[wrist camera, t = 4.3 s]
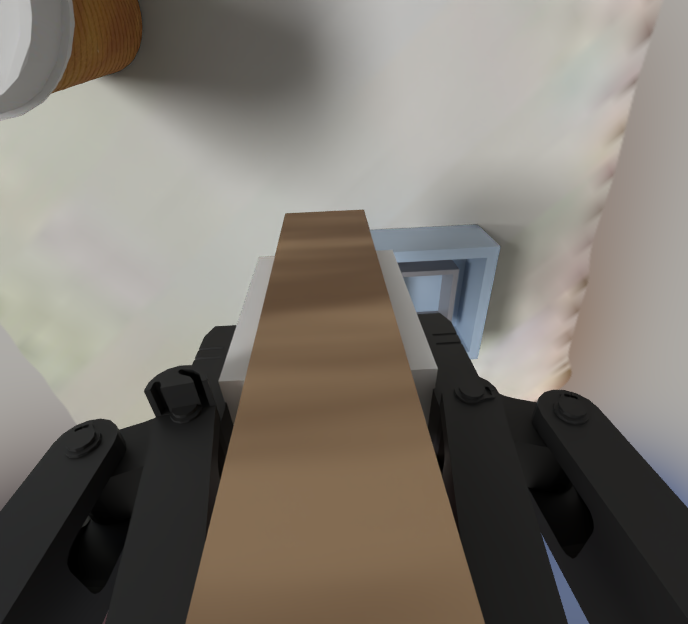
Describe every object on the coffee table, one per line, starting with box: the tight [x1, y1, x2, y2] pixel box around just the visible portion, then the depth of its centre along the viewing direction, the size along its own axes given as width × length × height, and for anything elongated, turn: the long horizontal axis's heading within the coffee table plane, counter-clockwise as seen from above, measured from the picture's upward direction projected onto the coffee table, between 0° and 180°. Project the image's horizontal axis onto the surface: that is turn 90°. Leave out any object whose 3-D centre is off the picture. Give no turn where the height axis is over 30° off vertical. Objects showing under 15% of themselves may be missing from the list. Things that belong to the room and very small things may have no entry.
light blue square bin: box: [370, 225, 501, 359], centre depth 30 cm, size 10×10×4 cm
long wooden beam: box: [186, 210, 485, 624], centre depth 11 cm, size 4×4×16 cm
